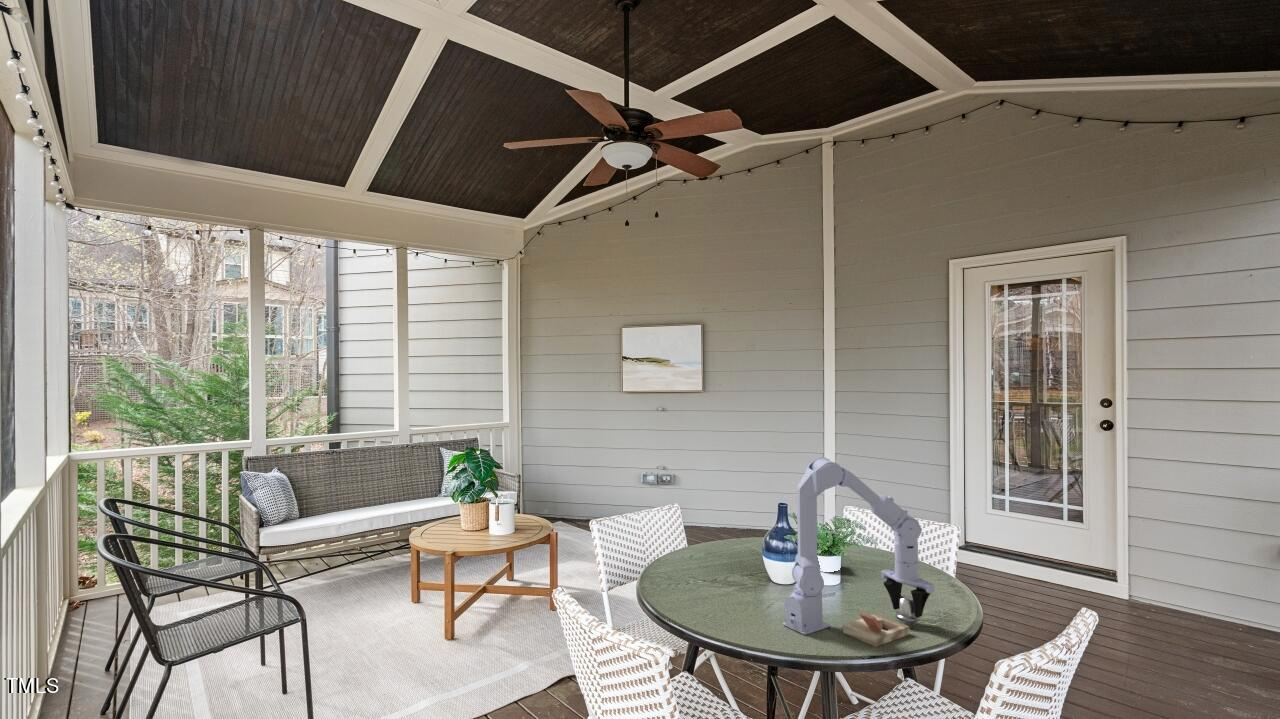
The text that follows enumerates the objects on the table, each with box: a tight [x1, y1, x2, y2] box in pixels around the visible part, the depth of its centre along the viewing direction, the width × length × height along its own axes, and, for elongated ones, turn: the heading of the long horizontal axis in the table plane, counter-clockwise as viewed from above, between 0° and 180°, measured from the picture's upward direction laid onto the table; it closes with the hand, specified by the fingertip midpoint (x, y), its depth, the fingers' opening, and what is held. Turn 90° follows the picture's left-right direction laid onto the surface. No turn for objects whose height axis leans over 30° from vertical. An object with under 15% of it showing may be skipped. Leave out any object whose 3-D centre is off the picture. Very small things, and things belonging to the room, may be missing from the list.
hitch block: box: [842, 613, 910, 648], centre depth 161 cm, size 13×10×2 cm
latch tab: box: [859, 611, 883, 631], centre depth 159 cm, size 4×4×1 cm
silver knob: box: [895, 594, 921, 629], centre depth 166 cm, size 6×6×7 cm
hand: (907, 612), depth 166 cm, fingers open, 6 cm apart
